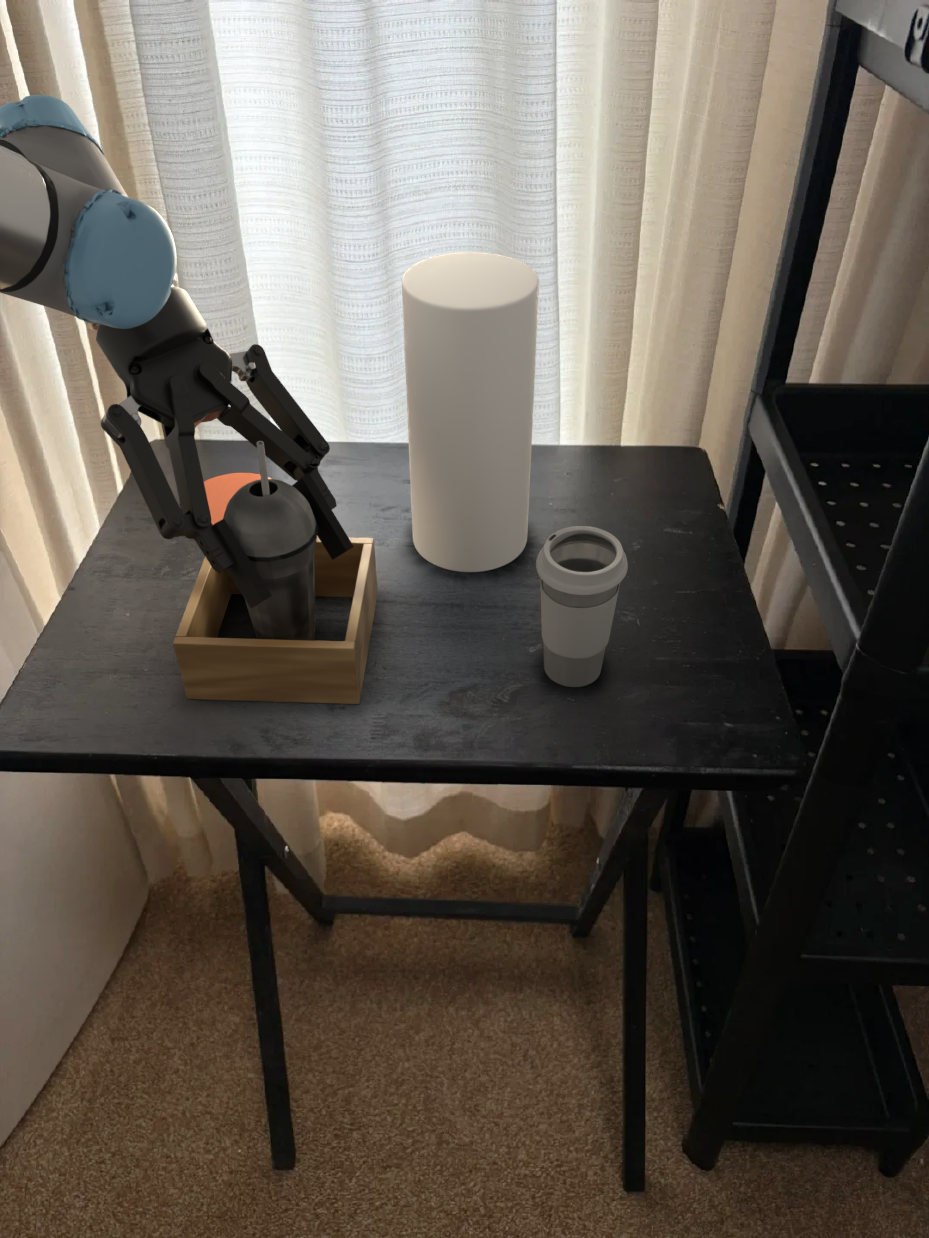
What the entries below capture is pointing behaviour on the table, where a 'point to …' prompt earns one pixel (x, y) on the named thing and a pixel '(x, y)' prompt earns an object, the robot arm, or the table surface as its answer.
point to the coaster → (225, 491)
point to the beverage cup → (277, 553)
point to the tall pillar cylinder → (470, 406)
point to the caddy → (280, 663)
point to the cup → (578, 601)
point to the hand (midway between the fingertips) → (303, 576)
